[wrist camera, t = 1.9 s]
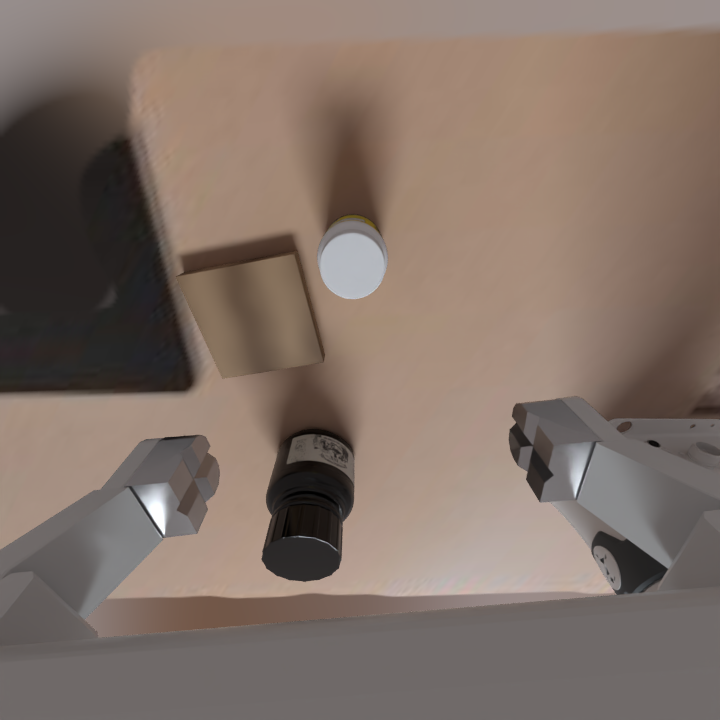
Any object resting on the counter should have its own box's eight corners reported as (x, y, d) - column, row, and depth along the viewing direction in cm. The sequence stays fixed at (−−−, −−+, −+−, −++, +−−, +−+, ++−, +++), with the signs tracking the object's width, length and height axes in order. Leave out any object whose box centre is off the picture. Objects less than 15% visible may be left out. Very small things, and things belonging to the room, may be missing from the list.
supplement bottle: (383, 270, 28) (393, 302, 20) (329, 276, 28) (319, 310, 20) (379, 209, 25) (389, 220, 18) (320, 216, 26) (305, 229, 18)
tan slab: (298, 249, 27) (294, 254, 25) (325, 352, 32) (323, 362, 30) (187, 270, 28) (175, 276, 26) (229, 368, 33) (222, 378, 31)
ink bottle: (372, 453, 38) (378, 557, 27) (327, 493, 41) (317, 599, 31) (304, 412, 35) (282, 510, 24) (261, 458, 38) (225, 562, 28)
